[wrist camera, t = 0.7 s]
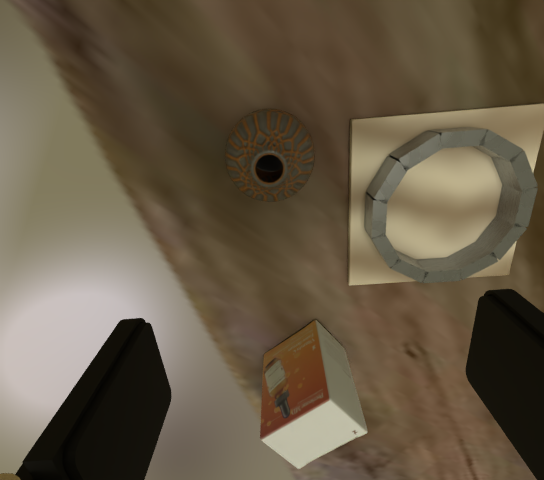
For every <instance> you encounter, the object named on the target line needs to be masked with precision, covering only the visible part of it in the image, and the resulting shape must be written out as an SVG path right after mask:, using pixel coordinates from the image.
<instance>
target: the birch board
mask: <svg viewBox="0 0 544 480" xmlns="http://www.w3.org/2000/svg"><path fill="white" fill-rule="evenodd" d="M458 127H475V128H483V129H489V130H491V131H493V132H494V133H496V134H498V135H500V136H501V137H503V138H505V139H506V140H508V141H510V142H512V143H513V144H515V145H517V146H519V147H520V148H522V149H523V151H525V153H526V156H527V158H528V161H529V164H530V167H531V169H532V172H533V171H534V167H535V163H536V159H537V155H538V151H539V147H540V142H541V138H542V134H543V130H544V103H539V104H527V105H515V106H503V107H491V108H479V109H468V110H456V111H444V112H432V113H420V114H408V115H396V116H384V117H372V118H360V119H350V161H349V225H348V284H349V285H364V284H379V283H394V282H409V281H416V280H414V279H412V278H410V277H407V276H405V275H403V274H401V273H399V272H396V271H394V270H392V269H390V268H389V267H388V265H387V264H386V262H385V261H384V259H383V258H382V257H381V255H380V253H379V252H378V250H377V249H376V247H375V245H374V244H373V242H372V240H371V239H370V237H369V236H368V234H367V232H366V231H365V228H364V216H365V193H366V192H367V191H366V190H367V188H368V186H369V185H370V183H371V181H372V180H373V178H374V176H375V175H376V173H377V172H378V170H379V168H380V167H381V165H382V163H383V162H384V160H385V158H386V157H387V156H388V157H390V156H389V154H390V153H391V152H393V151H394V150H396V149H398V148H399V147H401V146H402V145H404V144H405V143H407V142H408V141H410V140H412V139H413V138H415V137H416V136H418V135H419V134H421V133H423V132H424V131H427V130H433V129H446V128H458ZM501 188H502V183H501V180H500V178H499V175H498V173H497V170H496V168H495V166H494V163H493V161H492V158H491V157H490V156H488V155H487V154H485V153H483V152H481V151H479V150H478V149H476V148H474V147H472V146H468V147H456V148H443V149H441V150H440V151H438V152H436V153H435V154H433V155H431V156H430V157H428V158H427V159H425V160H423V161H422V162H420V163H419V164H417V165H415V166H414V167H412V168H410V169H409V170H408V171H407V172H406V174H405V176H404V177H403V179H402V180H401V182H400V183H399V185H398V186H397V188H396V190H395V191H394V193H393V194H392V196H391V197H390V199H389V200H388V203H387V219H386V236H387V238H388V239H389V241H390V243H391V245H392V246H393V248H394V249H395V250H397V251H399V252H401V253H403V254H406V255H408V256H410V257H412V258H414V259H428V258H443V257H448V256H450V255H451V254H453V253H455V252H457V251H459V250H461V249H463V248H464V247H466V246H468V245H470V244H472V243H474V242H475V241H476V240H477V239H478V238H479V236H480V235H481V234H482V232H483V231H484V230H485V229H486V227H487V226H488V225H489V224H490V222H491V221H492V220H493V219H494V217H495V216H496V213H497V208H498V203H499V198H500V193H501ZM516 242H517V241H516ZM516 242H515V243H514V244H513V245H512V247H511V248H510V249H509V250H508V251H507V253H506V254H505V255H504V256H503V257H502V258H501V260H499V259H497V260H498V262H496V263H495V264H493V265H491V266H489V267H487V268H485V269H483V270H481V271H479V272H477V273H475V274H473V275H471V276H469V277H484V276H499V275H509V271H510V267H511V262H512V258H513V254H514V250H515V246H516ZM469 277H467V278H469Z"/></svg>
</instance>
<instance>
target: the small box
mask: <svg viewBox="0 0 544 480" xmlns="http://www.w3.org/2000/svg"><path fill="white" fill-rule="evenodd" d="M367 432H368V431H367V427H366V423H365V420H364V416H363V412H362V409H361V405H360V402H359V398H358V395H357V391H356V388H355V384H354V381H353V377H352V373H351V370H350V366H349V362H348V359H347V355H346V351H345V349H344V347H343V346H341V344H340V343H339V342H338V341H337V340H336V339H335V338H334V337H333V336H332V335H331V334H330V333H329V332H328V331H327V330H326V329H325V328H324V327H323V326H322V325H321V324H320V323H319V322H318V321H317V320H314V321H313V322H312V323H310V324H309V325H307V326H306V327H305V328H303V329H302V330H300V331H299V332H297V333H296V334H294V335H293V336H291V337H290V338H288V339H287V340H285V341H284V342H282V343H280V344H279V345H277V346H276V347H274V348H273V349H271V350H269V351H268V352H266V353H265V354H264V360H263V384H262V408H261V431H260V439H261V440H262V441H263V442H264V443H265V444H267V445H268V446H269V447H270V448H272V449H273V450H274V451H276V452H277V453H278V454H279V455H281V456H282V457H283V458H285V459H286V460H287V461H288V462H290V463H291V464H292V465H294V466H295V467H296V468H298V469H300V468H302V467H303V466H305V465H306V464H307V463H309V462H311V461H313V460H315V459H317V458H318V457H320V456H322V455H324V454H326V453H328V452H330V451H332V450H333V449H335V448H337V447H339V446H341V445H343V444H345V443H347V442H349V441H351V440H353V439H355V438H357V437H360V436H362V435H364V434H366V433H367Z"/></svg>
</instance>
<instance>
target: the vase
mask: <svg viewBox="0 0 544 480" xmlns="http://www.w3.org/2000/svg"><path fill="white" fill-rule="evenodd" d="M314 157H315V153H314V145H313V141H312V139H311V136H310V134H309V132H308V130H307V129H306V127H305V126H304V125H303V124H302V123H301V122H300V121H299V120H298V119H297V118H296V117H294V116H293V115H291V114H289V113H287V112H285V111H282V110H277V109H263V110H258V111H255V112H252V113H250V114H249V115H247V116H245V117H244V118H243V119H241V120H240V121H239V122H238V123H237V124H236V126H235V127H234V128H233V130H232V131H231V133H230V135H229V138H228V140H227V144H226V149H225V161H226V166H227V170H228V173H229V175H230V177H231V179H232V181H233V182H234V184H235V185H236V186H237V187H238V188H239V189H240V190H241V191H242V192H243V193H245V194H246V195H248V196H249V197H251V198H254V199H256V200H260V201H266V202H274V201H280V200H283V199H286V198H288V197H290V196H292V195H294V194H295V193H297V192H298V191H299V190H300V189H301V188H302V187H303V186H304V185H305V183H306V182H307V180H308V179H309V177H310V175H311V172H312V169H313V165H314Z"/></svg>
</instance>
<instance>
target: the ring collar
mask: <svg viewBox="0 0 544 480" xmlns="http://www.w3.org/2000/svg"><path fill="white" fill-rule="evenodd" d="M468 146H472V147H474V148H476V149H478V150H479V151H481V152H483V153H485V154H487V155H488V156H490V157H491V158H492V161H493V163H494V166H495V168H496V170H497V173H498V175H499V178H500V180H501V183H502V188H501V193H500V198H499V203H498V208H497V213H496V216H495V217H494V219H493V220H492V221H491V222H490V224H489V225H488V226H487V227H486V229H485V230H484V231H483V232H482V234H481V235H480V236H479V238H478V239H477V240H476V241H475V242H474V243H472V244H470V245H468V246H466V247H464V248H463V249H461V250H459V251H457V252H455V253H453V254H451V255H450V256H448V257H443V258H428V259H414V258H412V257H410V256H408V255H406V254H403V253H401V252H399V251H397V250H395V249H394V248H393V246H392V245H391V243H390V241H389V239H388V238H387V236H386V219H387V203H388V200H389V199H390V197H391V196H392V194H393V193H394V191H395V190H396V188H397V186H398V185H399V183H400V182H401V180H402V179H403V177H404V176H405V174H406V172H407V171H408V170H409V169H410V168H412V167H414V166H415V165H417V164H419V163H420V162H422V161H423V160H425V159H427V158H428V157H430V156H431V155H433V154H435V153H436V152H438V151H440V150H441V149H443V148H456V147H468ZM389 156H390V157H388V156H387V157H386V158H385V160H384V162H383V163H382V165H381V167H380V168H379V170H378V172H377V173H376V175H375V176H374V178H373V180H372V181H371V183H370V185H369V186H368V188H367V190H366V191H367V192H366V193H365V216H364V228H365V231H366V232H367V234H368V236H369V237H370V239H371V240H372V242H373V244H374V245H375V247H376V249H377V250H378V252H379V253H380V255H381V257H382V258H383V259H384V261H385V262H386V264H387V265H388V267H389V268H390V269H392V270H394V271H396V272H399V273H401V274H403V275H405V276H407V277H410V278H412V279H414V280H416V281H418V282H421V283H422V282H423V283H432V282H447V281H460V279H462V280H463V279H465V278H467V277H469V276H471V275H473V274H475V273H477V272H479V271H481V270H483V269H485V268H487V267H489V266H491V265H493V264H495V263H496V262H498V260H497V259H499V260H501V258H502V257H503V256H504V255H505V254H506V253H507V251H508V250H509V249H510V248H511V247H512V245H513V244H514V243H515V242H516V241H517V240H518V238H519V237H520V236H521V235H522V234H523V233H524V231H525V230H526V229H527V228H525V227H528V224H529V220H530V216H531V212H532V209H533V205H534V201H535V197H536V193H537V189H538V188H536V187H537V183H536V180H535V177H534V175H533V172H532V169H531V167H530V164H529V161H528V158H527V156H526V153H525V151H523V149H522V148H520V147H519V146H517V145H515V144H513V143H512V142H510V141H508V140H506V139H505V138H503V137H501V136H500V135H498V134H496V133H494V132H493V131H491V130H489V129H483V128H475V127H458V128H446V129H433V130H427V131H424V132H423V133H421V134H419V135H418V136H416V137H415V138H413V139H412V140H410V141H408V142H407V143H405V144H404V145H402V146H401V147H399V148H398V149H396V150H394V151H393V152H391V153H390V154H389Z"/></svg>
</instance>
